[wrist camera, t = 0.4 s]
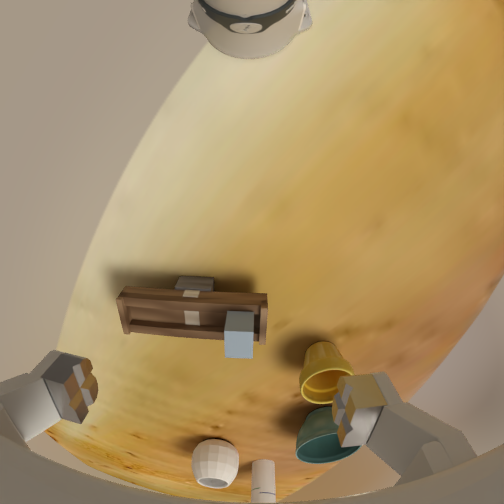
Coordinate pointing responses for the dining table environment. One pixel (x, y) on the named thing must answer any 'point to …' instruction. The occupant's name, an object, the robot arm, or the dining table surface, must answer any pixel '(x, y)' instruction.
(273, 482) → the cylindrical container
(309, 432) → the flower pot
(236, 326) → the block
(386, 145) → the dining table surface
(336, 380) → the plant pot
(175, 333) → the beam
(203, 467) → the white vase
